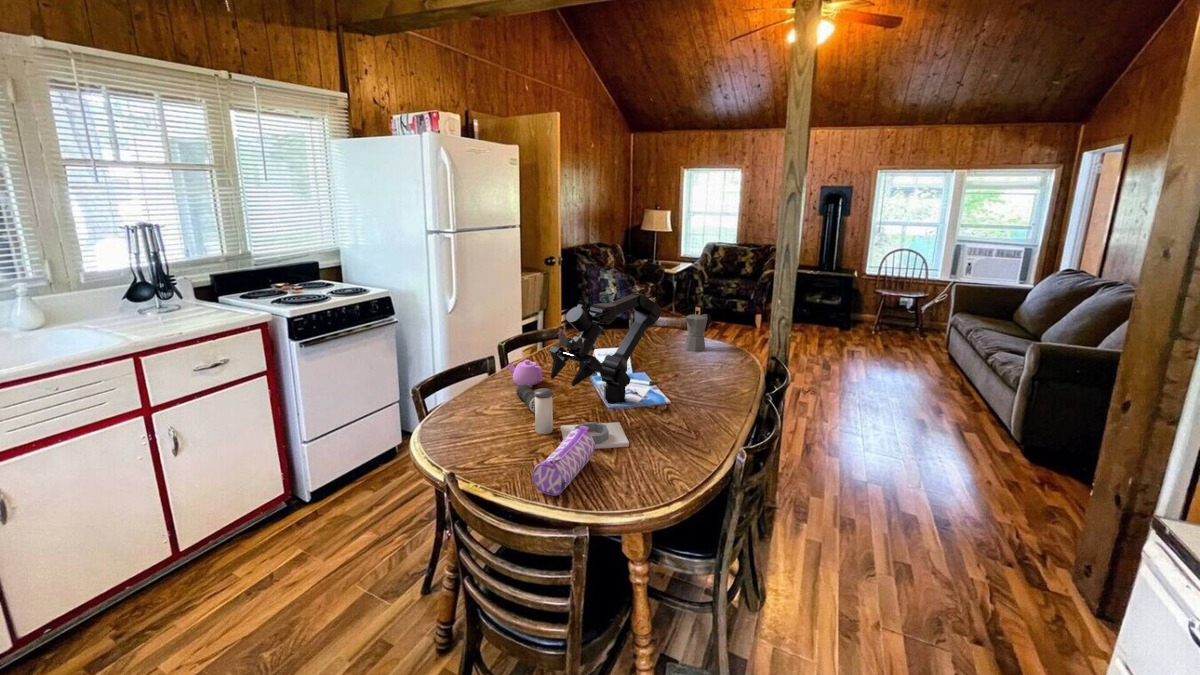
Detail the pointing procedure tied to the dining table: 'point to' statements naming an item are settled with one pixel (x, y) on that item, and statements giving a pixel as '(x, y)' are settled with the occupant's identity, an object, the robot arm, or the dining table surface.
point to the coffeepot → (696, 331)
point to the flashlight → (526, 396)
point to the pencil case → (564, 462)
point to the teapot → (526, 373)
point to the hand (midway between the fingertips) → (561, 381)
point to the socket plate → (612, 435)
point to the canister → (543, 410)
